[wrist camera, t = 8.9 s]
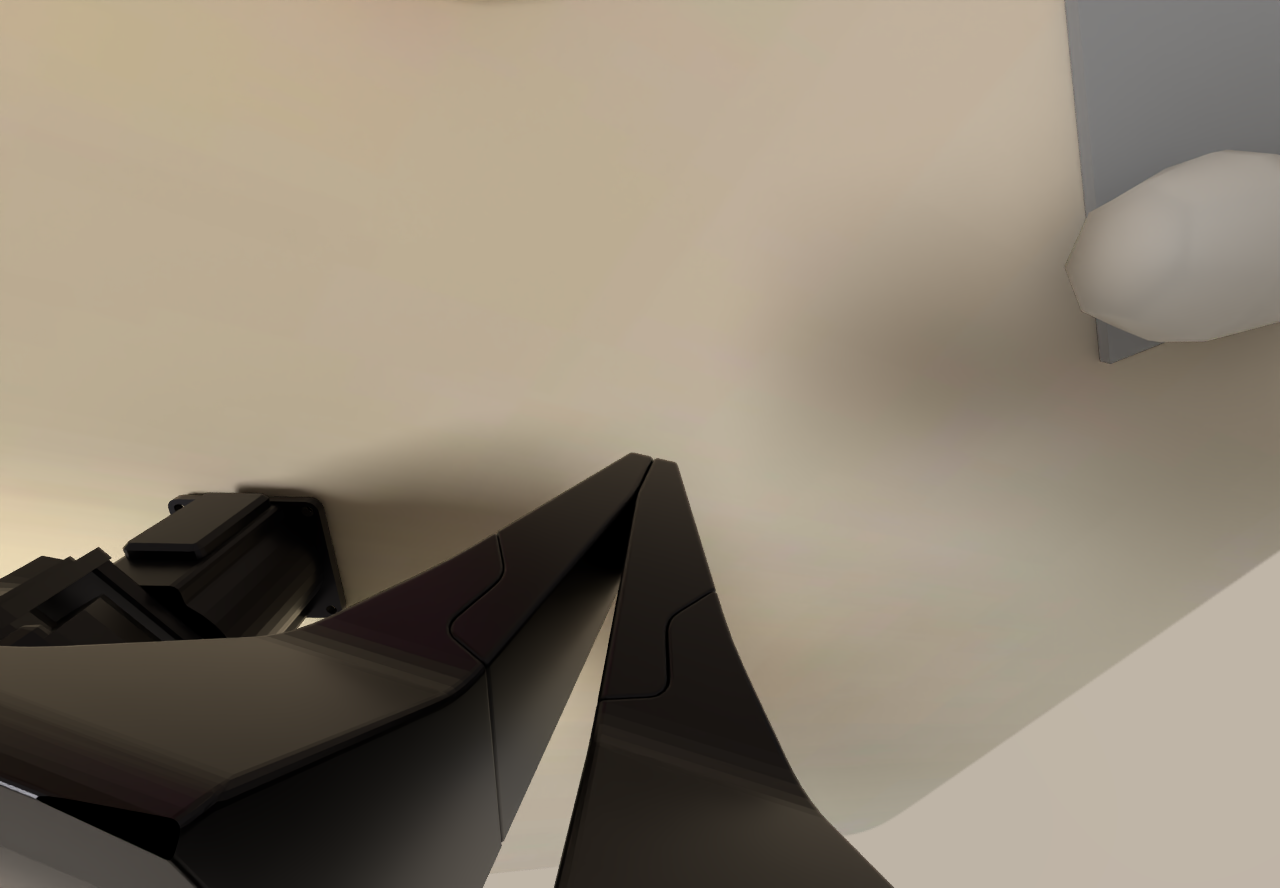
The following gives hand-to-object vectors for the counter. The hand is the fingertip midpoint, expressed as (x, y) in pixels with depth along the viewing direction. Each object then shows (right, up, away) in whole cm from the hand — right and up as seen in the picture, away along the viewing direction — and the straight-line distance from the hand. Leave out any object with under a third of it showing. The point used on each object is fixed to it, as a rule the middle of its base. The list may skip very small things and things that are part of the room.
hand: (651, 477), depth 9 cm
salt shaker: (+15, +7, +7) cm, 18 cm away
